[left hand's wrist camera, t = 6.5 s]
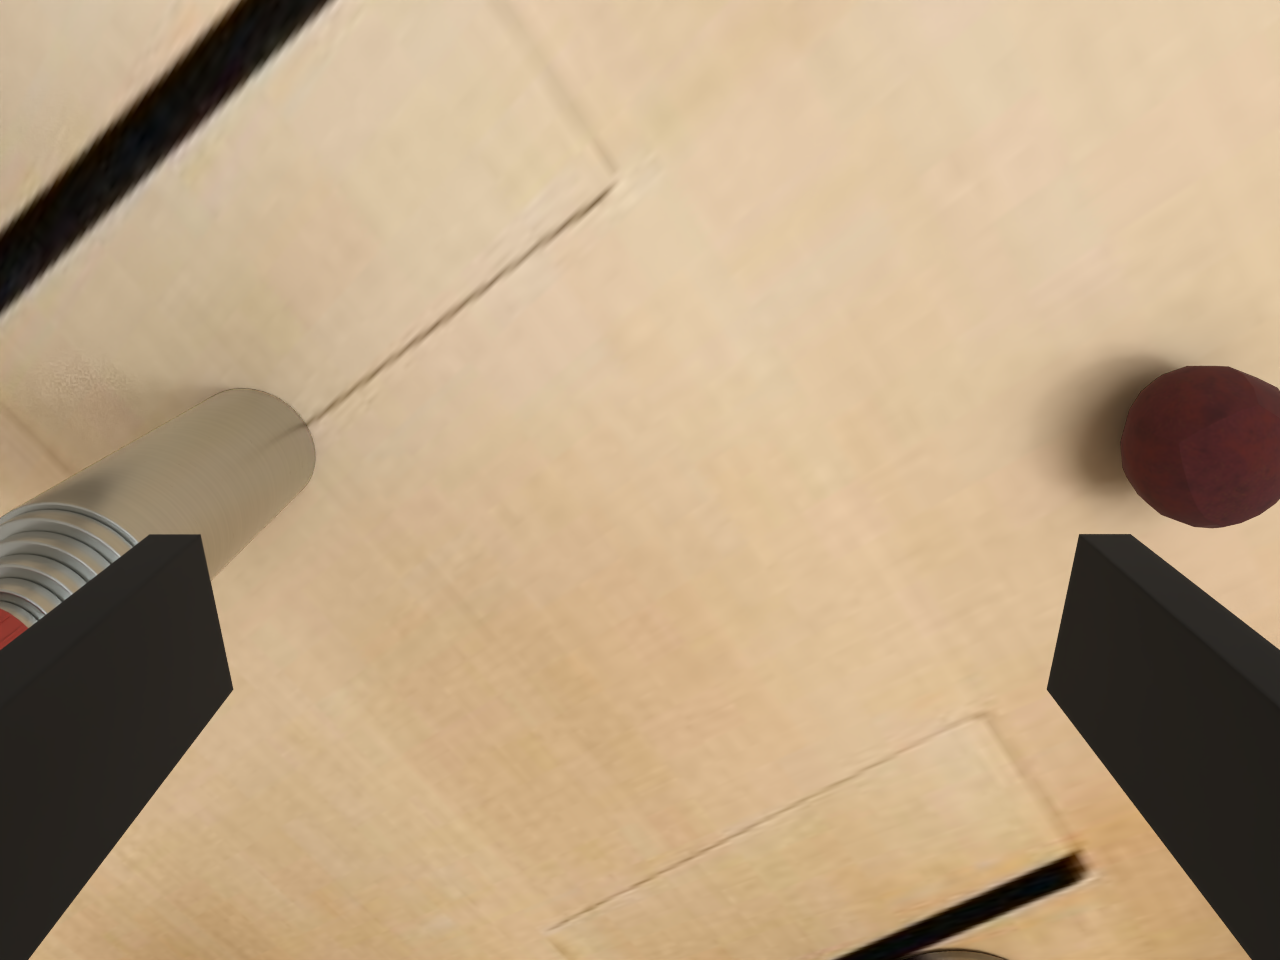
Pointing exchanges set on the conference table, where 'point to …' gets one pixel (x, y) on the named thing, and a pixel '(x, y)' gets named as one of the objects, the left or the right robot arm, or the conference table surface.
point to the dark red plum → (1205, 446)
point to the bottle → (158, 498)
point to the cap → (9, 628)
